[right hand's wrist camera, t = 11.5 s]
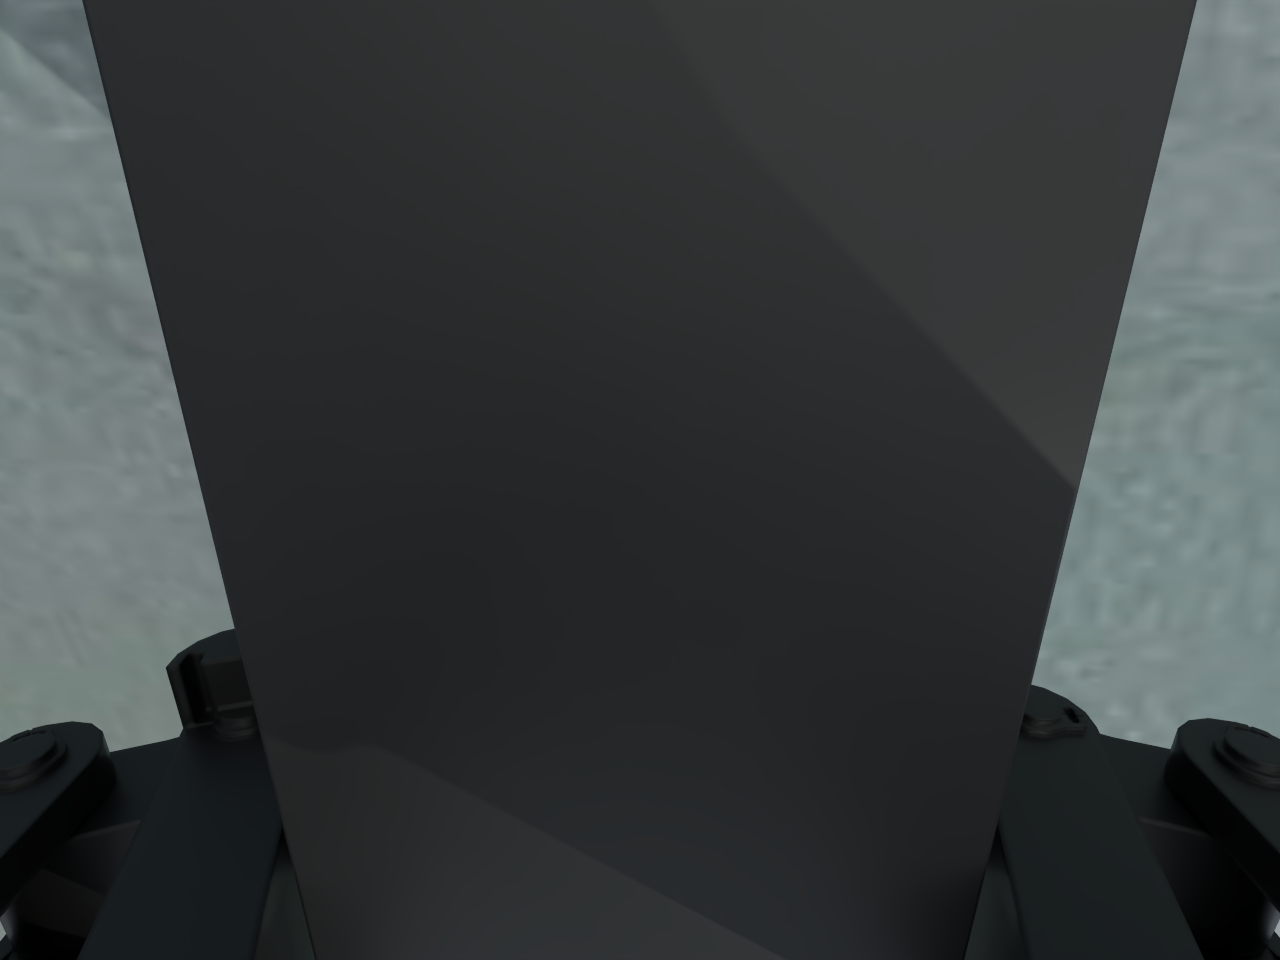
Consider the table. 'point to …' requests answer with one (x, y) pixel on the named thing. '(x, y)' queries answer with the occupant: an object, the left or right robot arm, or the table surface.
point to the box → (639, 437)
